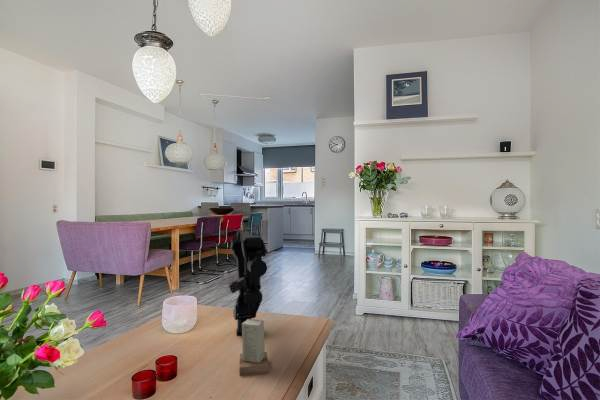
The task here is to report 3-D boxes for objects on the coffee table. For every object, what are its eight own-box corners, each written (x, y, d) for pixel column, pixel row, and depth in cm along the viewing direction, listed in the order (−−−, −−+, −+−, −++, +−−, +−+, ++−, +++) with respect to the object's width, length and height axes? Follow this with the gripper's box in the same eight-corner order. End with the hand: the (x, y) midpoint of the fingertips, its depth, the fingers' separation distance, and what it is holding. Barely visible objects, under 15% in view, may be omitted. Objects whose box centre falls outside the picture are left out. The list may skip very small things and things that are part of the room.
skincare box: (265, 357, 106) (264, 320, 106) (259, 363, 102) (259, 325, 102) (247, 354, 108) (247, 318, 108) (241, 360, 104) (241, 323, 104)
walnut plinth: (239, 361, 109) (239, 354, 109) (266, 359, 110) (266, 351, 110) (239, 375, 100) (239, 367, 100) (268, 372, 101) (268, 364, 101)
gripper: (231, 266, 126) (231, 306, 126) (228, 277, 107) (229, 324, 107) (259, 265, 128) (259, 305, 128) (262, 276, 109) (262, 322, 109)
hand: (252, 313), depth 118 cm, fingers open, 9 cm apart
